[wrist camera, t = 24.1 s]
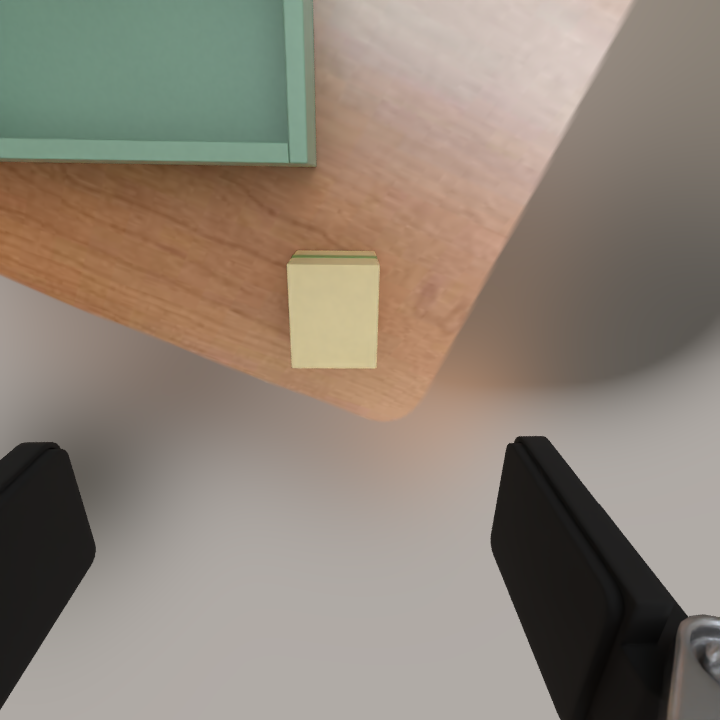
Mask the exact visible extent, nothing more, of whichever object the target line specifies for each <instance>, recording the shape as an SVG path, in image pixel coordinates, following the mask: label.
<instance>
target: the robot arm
mask: <svg viewBox="0 0 720 720" xmlns="http://www.w3.org/2000/svg"><path fill="white" fill-rule="evenodd" d="M491 548H492V552H493V555H494V557H495V560H496V563H497V565H498V567H499V570H500V572H501V575H502V577H503V580H504V582H505V585H506V587H507V589H508V592H509V595H510V597H511V600H512V602H513V604H514V607H515V609H516V612H517V614H518V617H519V619H520V622H521V624H522V627H523V629H524V632H525V634H526V637H527V639H528V642H529V644H530V647H531V649H532V652H533V654H534V656H535V659H536V661H537V664H538V666H539V669H540V671H541V674H542V676H543V679H544V681H545V684H546V686H547V689H548V691H549V694H550V696H551V699H552V701H553V703H554V706H555V708H556V711H557V713H558V715H559V718H560V719H561V720H720V617H715V616H709V615H695V616H689V617H688V616H687V615H686V614H685V612H684V611H683V610H682V608H681V607H680V606H679V605H678V604H677V602H676V601H675V600H674V598H673V597H672V596H671V594H670V593H669V592H668V591H667V590H666V588H665V587H664V586H663V584H662V583H661V582H660V580H659V579H658V578H657V577H656V575H655V574H654V573H653V571H651V569H650V568H649V566H648V565H647V564H646V563H645V561H644V560H643V559H642V558H641V556H640V555H639V554H638V553H637V551H636V550H635V549H634V547H633V546H632V545H631V543H630V542H629V541H628V540H627V538H626V537H625V536H624V535H623V533H622V532H621V531H620V530H619V528H618V527H617V526H616V525H615V523H614V522H613V521H612V519H611V518H610V517H609V515H608V514H607V513H606V512H605V510H604V509H603V508H602V507H601V505H600V504H598V502H597V501H596V500H595V499H594V497H593V496H592V495H591V494H590V492H589V491H588V490H587V488H586V487H585V486H584V485H583V483H582V482H581V481H580V479H579V478H578V477H577V476H576V474H575V473H574V472H573V470H572V469H571V468H570V467H569V465H568V464H567V463H566V461H565V460H564V459H563V458H562V456H561V455H560V454H559V453H558V451H557V450H556V449H555V447H554V446H553V445H552V444H551V442H550V441H549V440H548V439H547V438H546V437H544V436H523V437H522V436H521V437H520V436H519V437H517V438H516V439H515V441H514V443H509V444H508V445H507V448H506V453H505V459H504V464H503V470H502V475H501V481H500V487H499V492H498V498H497V504H496V510H495V515H494V521H493V527H492V532H491ZM95 552H96V547H95V542H94V539H93V535H92V532H91V529H90V525H89V522H88V519H87V515H86V512H85V509H84V505H83V502H82V499H81V495H80V492H79V489H78V485H77V482H76V479H75V475H74V472H73V469H72V465H71V462H70V459H69V455H68V453H67V452H66V451H65V450H63V449H60V447H59V446H58V445H57V444H56V443H53V442H27V443H21V444H20V445H18V446H16V447H15V448H14V449H13V450H12V451H10V452H9V453H8V454H7V455H6V456H5V457H3V458H2V459H1V460H0V709H1V708H2V706H3V705H4V703H5V701H6V700H7V698H8V696H9V695H10V693H11V692H12V690H13V689H14V687H15V685H16V684H17V682H18V681H19V679H20V677H21V676H22V674H23V673H24V671H25V669H26V668H27V666H28V665H29V663H30V662H31V660H32V658H33V657H34V655H35V654H36V652H37V650H38V649H39V647H40V646H41V644H42V642H43V641H44V639H45V638H46V636H47V635H48V633H49V631H50V630H51V628H52V627H53V625H54V623H55V622H56V620H57V619H58V617H59V615H60V614H61V612H62V611H63V609H64V607H65V606H66V604H67V603H68V601H69V600H70V598H71V596H72V595H73V593H74V592H75V590H76V588H77V587H78V585H79V584H80V582H81V580H82V579H83V577H84V576H85V574H86V572H87V571H88V569H89V568H90V566H91V564H92V562H93V560H94V557H95Z"/></svg>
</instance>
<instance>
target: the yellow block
mask: <svg viewBox="0 0 720 720" xmlns="http://www.w3.org/2000/svg"><path fill="white" fill-rule="evenodd" d="M379 277H380V265H379V263H378V260H377V256H376V254H375V252H374V251H326V250H297V251H296V252H295V254H294V255H293V256H292V257H291V259H290V261H289V262H288V263H287V284H288V305H289V325H290V345H291V366H292V368H349V369H376V368H377V338H378V308H379Z"/></svg>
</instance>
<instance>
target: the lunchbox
mask: <svg viewBox="0 0 720 720" xmlns="http://www.w3.org/2000/svg"><path fill="white" fill-rule="evenodd" d="M0 162H50V163H108V164H167V165H225V166H284V167H316V121H315V74H314V27H313V0H0Z"/></svg>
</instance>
